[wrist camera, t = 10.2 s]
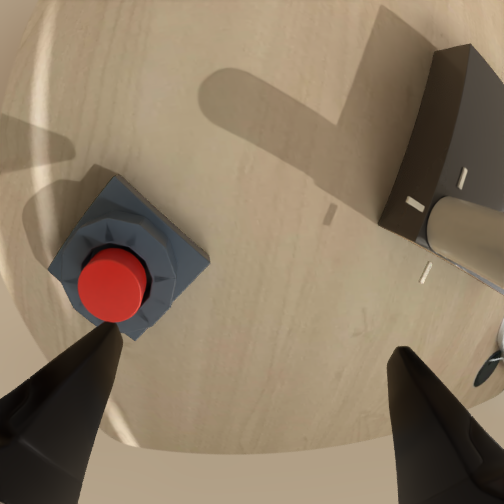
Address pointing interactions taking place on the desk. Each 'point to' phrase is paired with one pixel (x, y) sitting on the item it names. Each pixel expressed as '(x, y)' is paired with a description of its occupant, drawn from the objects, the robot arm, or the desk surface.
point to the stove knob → (469, 236)
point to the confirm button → (112, 285)
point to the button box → (137, 243)
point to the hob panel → (451, 148)
